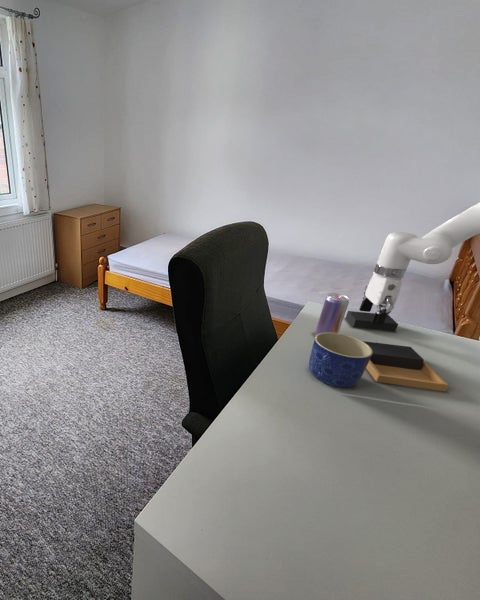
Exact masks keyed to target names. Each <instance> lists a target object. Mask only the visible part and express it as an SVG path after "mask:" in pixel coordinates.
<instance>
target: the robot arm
mask: <svg viewBox="0 0 480 600" xmlns="http://www.w3.org/2000/svg"><path fill="white" fill-rule="evenodd" d="M479 234H480V201H479V202H477V203H476V204H474V205H472V206H470V207H469V208H467V209H465V210H464V211H462V212H460V213H459V214H456V215H455V216H452V218H450V219H448V220H447V221H445V222H443V223H442V224H440V225H439V226H437V227H435V228H433V229H432V230H430V231H429V232H427V233H426V234H424V235H423V236H422V237H419V236H418V235H416V234H414V233H410V232H403V231H394V232H390V233H389V234H388V235H387V236H386V238H385V241H384V244H383V246H382V249H381V251H380V254H379V255H378V259H377V262H376V264H375V266H374V269H373V272H372V275H371V278H370V279H369V282H368V284H367V285H366V286H365V289H364V292H363V297H362V301H361V303H360V306H359V312H365V313H371V311H372V308H373V305H374V306H376V312H374V313H375V314H374V317H373V319H372V322H371V323H372V324H378V325H383V324H384V322H385V319H386V317H387V315H389V316H390V314H391V313H392V311H393V310H394V308H395V305H396V302H397V300H398V297H399V295H400V291H401V287H402V282H403V279H404V277H405V274H406V272H407V269H408V268H409V265H410V262H411V261H416V262H419V263H422V264H427V265H439V264H442V263H445V262H447V261H448V260H449V259H450V258H451V256H452V255H453V249H454V248H455V247H457V246H458V245H460V244H462V243H464V242H465V241H467V240H469V239H471V238H473V237H475V236H476V235H479Z"/></svg>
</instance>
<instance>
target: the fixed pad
mask: <svg viewBox="0 0 480 600" xmlns="http://www.w3.org/2000/svg"><path fill="white" fill-rule="evenodd" d="M362 341H363V342H364V343H366V344H367V345H369V346H370V347H371V349H372V351H373V354H372V356H371V358H370V361H371V362H372V363H373V364H376V365H384V366H391V367H399V368H406V369H414V370H420V368H421V366H422V364H423V362H425V359H424V358H423V357H422V356H421V355H420V354H419V353H418V352H417V351H416V350H415V349H414V348H413V347H412V346H407V345H398V344H390V343H382V342H375V341H374V342H373V341H364V340H362Z"/></svg>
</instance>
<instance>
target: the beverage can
mask: <svg viewBox="0 0 480 600" xmlns="http://www.w3.org/2000/svg"><path fill="white" fill-rule="evenodd" d="M349 304H350V298H349V297H348V296H346V295H344V294H342V293H341V294H340V293H328V294H327V295H326V297H325V299H324V302H323V305H322V308H321V312H320V316H319V318H318V321H317V325H316V328H315V330H314V336H316V335H318V334H320V333H326V332H332V333H340V330H341V327H342V324H343V322H344V319H345V316H346V313H347V311H348V310H347V309H348V307H349Z"/></svg>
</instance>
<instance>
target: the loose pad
mask: <svg viewBox="0 0 480 600" xmlns="http://www.w3.org/2000/svg"><path fill="white" fill-rule="evenodd" d="M375 313H376V312H365V311H354V310H347V311H346V314H345V317H344V319H345V321H346V322H347V323H348V325H350V326H351V328H355V329H364V330H373V331H382V332H391V333H396V331H397V328H398V326H399V323H397V321H396V320H395V319H393V318H392V316H390V314H389V315H387V317H386V319H385V322H384V324H383V325H378V324H372V323H371V322H372V319H373V317H374V314H375Z"/></svg>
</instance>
